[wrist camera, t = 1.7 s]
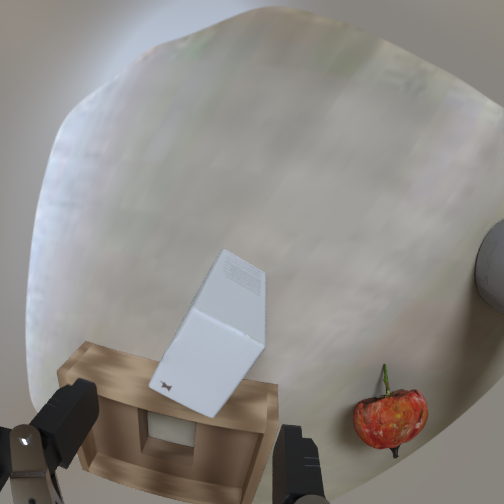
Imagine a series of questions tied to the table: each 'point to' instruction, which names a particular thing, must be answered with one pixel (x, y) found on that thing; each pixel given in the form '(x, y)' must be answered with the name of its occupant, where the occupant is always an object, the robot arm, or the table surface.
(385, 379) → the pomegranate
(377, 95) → the table surface
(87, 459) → the crate
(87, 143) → the table surface
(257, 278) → the skincare box
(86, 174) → the table surface
